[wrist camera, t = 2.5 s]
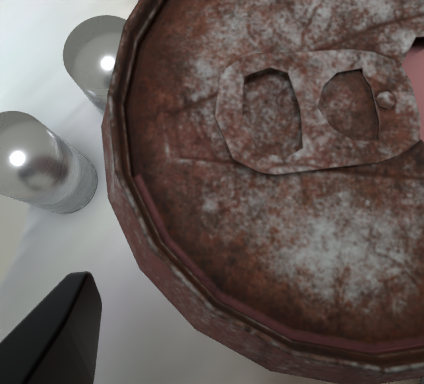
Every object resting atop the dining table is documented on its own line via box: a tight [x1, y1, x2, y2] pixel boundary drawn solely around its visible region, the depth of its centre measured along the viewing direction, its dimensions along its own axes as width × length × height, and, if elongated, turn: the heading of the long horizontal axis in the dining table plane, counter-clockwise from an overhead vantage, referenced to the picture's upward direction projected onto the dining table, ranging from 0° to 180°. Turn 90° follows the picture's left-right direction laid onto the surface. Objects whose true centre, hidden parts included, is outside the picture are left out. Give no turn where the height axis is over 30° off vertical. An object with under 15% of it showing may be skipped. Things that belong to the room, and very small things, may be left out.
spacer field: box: [0, 15, 127, 214], centre depth 16 cm, size 8×21×6 cm, turn 95°
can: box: [101, 0, 424, 384], centre depth 11 cm, size 6×6×14 cm
